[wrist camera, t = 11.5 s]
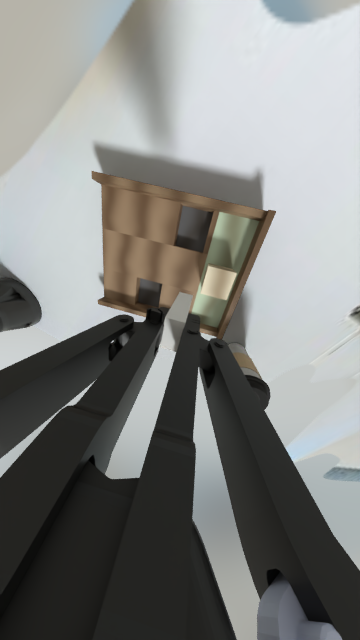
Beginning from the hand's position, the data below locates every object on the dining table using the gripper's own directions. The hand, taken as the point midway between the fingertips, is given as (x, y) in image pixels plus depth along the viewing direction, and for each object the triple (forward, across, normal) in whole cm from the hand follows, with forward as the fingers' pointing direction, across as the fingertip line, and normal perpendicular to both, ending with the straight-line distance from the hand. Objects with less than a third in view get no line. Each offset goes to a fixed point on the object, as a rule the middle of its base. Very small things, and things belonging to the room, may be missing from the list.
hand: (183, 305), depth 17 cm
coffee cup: (+20, -15, +17) cm, 30 cm away
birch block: (+17, -4, -1) cm, 17 cm away
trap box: (+19, +6, -1) cm, 20 cm away
